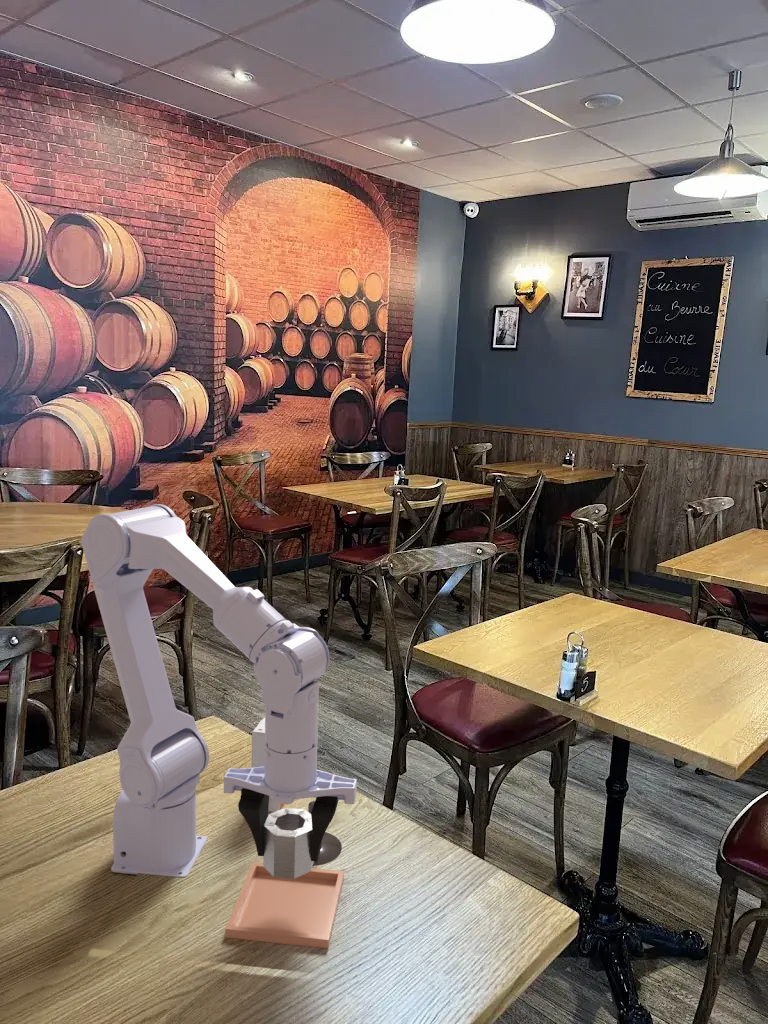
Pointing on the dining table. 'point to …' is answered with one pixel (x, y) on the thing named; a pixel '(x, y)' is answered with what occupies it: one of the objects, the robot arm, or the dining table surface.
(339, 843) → the stand
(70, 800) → the dining table surface
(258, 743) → the skincare box
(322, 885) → the tray
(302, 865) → the octagonal pencil cup
